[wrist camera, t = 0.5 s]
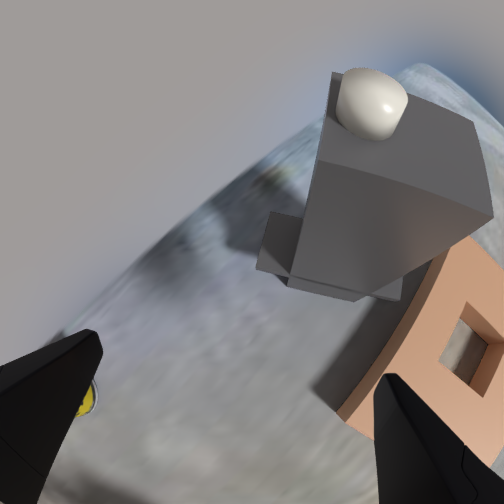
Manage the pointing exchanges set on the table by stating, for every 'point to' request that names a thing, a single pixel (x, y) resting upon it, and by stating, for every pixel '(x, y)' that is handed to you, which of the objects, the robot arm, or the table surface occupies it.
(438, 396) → the plate
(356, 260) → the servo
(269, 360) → the table surface
